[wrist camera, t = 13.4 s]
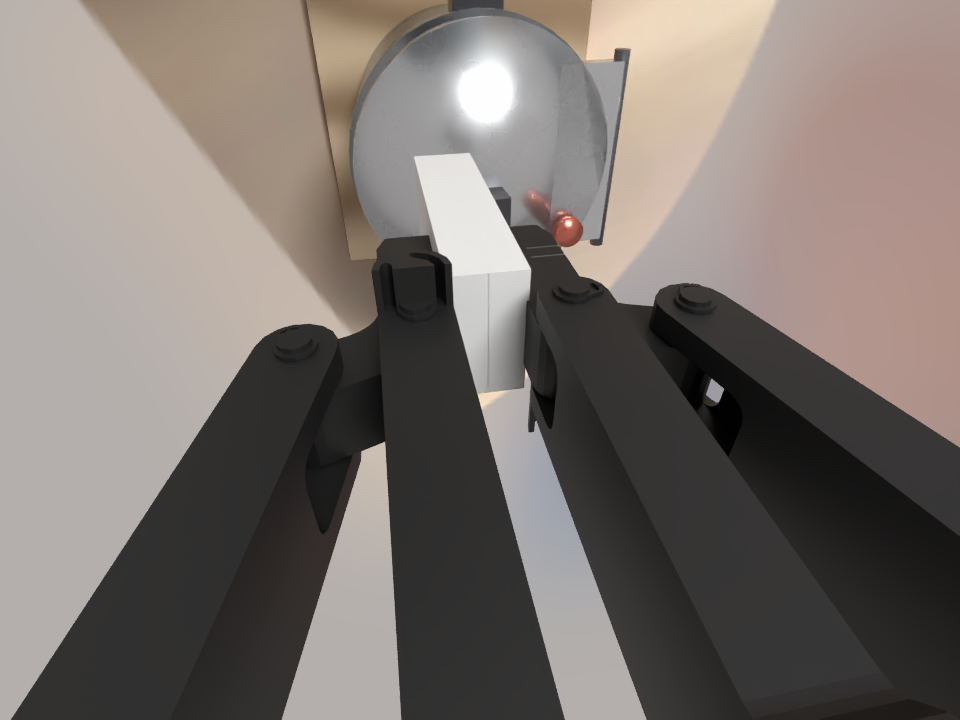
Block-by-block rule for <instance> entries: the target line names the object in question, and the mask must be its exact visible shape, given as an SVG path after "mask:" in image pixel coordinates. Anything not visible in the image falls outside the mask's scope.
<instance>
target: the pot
mask: <svg viewBox="0 0 960 720" xmlns="http://www.w3.org/2000/svg"><path fill="white" fill-rule="evenodd" d="M476 15H498V16H505V17H510V18H515V19H519V20H522V21H525V22H528V23H530V24H533V25H535V26H538V27H541V28H543V29H544V30H546V31H548V32H549V33H551V34H553V35H554V36H556V37H558V38H559V39H560V40H561V41H562V42H564V43H565V44H566V45H567V46H568V47H570V46H569V45H568V44H567V42H566V41H564V40H563V39H562V38H561V37H560V36H558V35H557V34H556V33H555V32H553V31H552V30H551V29H549V28H547V27H546V26H544V25H542V24H541V23H539V22H537V21H536V20H533V19H531V18H528V17H526V16H523V15H521V14H518V13H515V12H511V11H506V10H504V0H448V4H440V5H436V6H432V7H429V8H425V9H423V10H421V11H419V12H416V13H414V14H412V15H411V16H409V17H407V18H406V19H404V20H403V21H401V22H400V23H399V24H397V25H396V26H395V27H394V28H393V29H392V30H390V31H389V32H388V33H387V35H386V36H385V37H384V38H383V39H382V40H381V42H380V43H379V44H378V46H377V47H376V49H375V50H374V52H373V53H372V55H371V57H370V59H369V61H368V63H367V65H366V67H365V70H364V73H363V76H362V79H361V82H360V87H359V92H358V98H357V102H356V105H355V108H354V111H353V115H352V121H351V127H350V137H349V160H350V171H351V175H352V180H353V184H354V188H355V191H356V194H357V197H358V193H357V188H356V184H355V179H354V170H353V141H354V136H355V130H356V125H357V121H358V117H359V114H360V111H361V108H362V105H363V103H364V100H365V98H366V96H367V94H368V92H369V90H370V88H371V86H372V84H373V83H374V81H375V80H376V78H377V77H378V75H379V73H380V72H381V70H382V69H383V68H384V67H385V66H386V64H387V63H388V62H389V61H390V60H391V59H392V57H393V56H394V55H395V54H396V53H397V52H398V51H400V50H401V49H402V48H403V47H404V46H405V45H406V44H408V43H409V42H410V41H411V40H413V39H414V38H416V37H417V36H419V35H421V34H422V33H424V32H425V31H427V30H429V29H431V28H433V27H435V26H438V25H440V24H442V23H444V22H447V21H451V20H455V19H458V18H462V17H468V16H476ZM570 48H571V47H570ZM571 49H572V48H571ZM572 50H573V49H572ZM573 52H574V53H575V54H576V52H575V51H574V50H573ZM576 55H577V54H576ZM577 56H578V55H577ZM578 57H579V56H578ZM580 60H581V59H580ZM621 113H622V112H621ZM620 120H621V119H620ZM619 127H620V126H619ZM616 147H617V146H616ZM615 154H616V153H615ZM614 161H615V160H614ZM610 188H611V187H610ZM358 199H359V197H358ZM359 202H360V201H359Z"/></svg>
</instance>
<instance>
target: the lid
mask: <svg viewBox="0 0 960 720" xmlns="http://www.w3.org/2000/svg"><path fill="white" fill-rule="evenodd" d="M630 51H631V49H628V48H616V49H615V54H614V59H606V60H587V61H581V60H580V58H579V57H578V56H577V55H576V54H575V53H574V52H573V50H572V49H571V48H570V47H568V46H567V45H566V44H565V43H564V42H562V41H561V40H560V39H559V38H558V37H556V36H554V35H553V34H551V33H549V32H548V31H546V30H544V29H543V28H541V27H538V26H535V25H533V24H530V23H528V22H525V21H522V20H519V19H515V18H510V17H505V16H498V15H476V16H468V17H462V18H458V19H455V20H451V21H447V22H444V23H442V24H440V25H438V26H435V27H433V28H431V29H429V30H427V31H425V32H424V33H422V34H421V35H419V36H417V37H416V38H414V39H413V40H411V41H410V42H409V43H408V44H406V45H405V46H404V47H403V48H402V49H401V50H400V51H398V52H397V53H396V54H395V55H394V56H393V57H392V59H391V60H390V61H389V62H388V63H387V64H386V66H385V67H384V68H383V69H382V70H381V72H380V73H379V75H378V77H377V78H376V80H375V81H374V83H373V84H372V86H371V88H370V90H369V92H368V94H367V96H366V98H365V100H364V103H363V105H362V108H361V111H360V114H359V117H358V121H357V125H356V130H355V136H354V141H353V170H354V179H355V184H356V188H357V193H358V197H359V201H360V204H361V207H362V209H363V212H364V215H365V217H366V219H367V221H368V223H369V225H370V227H371V228H372V230H373V232H374V233H375V235H376V236H377V237H378V239H379V240H380V242H381V243H382V242H383V241H384V239H386V238H398V237H411V236H420V227H419V214H418V202H417V190H416V177H415V165H414V156H429V155H445V154H461V153H470V155H471V156H472V158H473V160H474V162H475V164H476V166H477V168H478V170H479V172H480V173H481V175H482V177H483V179H484V181H485V183H486V185H487V187H488V189H489V190H490V192H491V194H492V196H493V198H494V200H495V202H496V204H497V206H498V207H499V209H500V211H501V213H502V215H503V217H504V219H505V221H506V223H507V224H508V226H509V227H512V226H524V225H538V226H539V227H541V228H543V229H544V230H546V231H548V232H550V233H551V234H552V236H553V237H554V239H555V240H556V242H557V243H558V246H559V247H560V248H561V247H562V246H563V247H570V246H573V245H575V244H576V243H577V242H578V241H583V240H590V244H592V245H595V246H599V245H602V242H603V235H604V228H605V222H606V215H607V208H608V201H609V194H610V187H611V181H612V174H613V167H614V160H615V153H616V146H617V140H618V133H619V126H620V119H621V112H622V106H623V99H624V92H625V85H626V78H627V71H628V65H629V58H630Z"/></svg>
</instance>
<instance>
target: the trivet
mask: <svg viewBox="0 0 960 720" xmlns="http://www.w3.org/2000/svg"><path fill="white" fill-rule="evenodd" d="M306 3H307V9H308V15H309V20H310V26H311V32H312V38H313V44H314V49H315V55H316V61H317V67H318V73H319V78H320V84H321V90H322V96H323V102H324V108H325V113H326V119H327V125H328V131H329V137H330V142H331V148H332V154H333V160H334V166H335V171H336V177H337V183H338V189H339V195H340V201H341V206H342V212H343V218H344V224H345V230H346V235H347V241H348V247H349V253H350V259H351V261H353V260H364V259H376V258H377V252H376V249H377V248H378V247H379V246H380V244H381V242H380V240H379V239H378V237H377V236H376V235H375V233H374V232H373V230H372V228H371V227H370V225H369V223H368V221H367V219H366V217H365V215H364V212H363V209H362V207H361V204H360V202H359V199H358V197H357V194H356V191H355V188H354V184H353V180H352V175H351V171H350V160H349V137H350V127H351V121H352V115H353V111H354V108H355V105H356V102H357V98H358V92H359V87H360V82H361V79H362V76H363V73H364V70H365V67H366V65H367V63H368V61H369V59H370V57H371V55H372V53H373V52H374V50H375V49H376V47H377V46H378V44H379V43H380V42H381V40H382V39H383V38H384V37H385V36H386V35H387V33H388V32H389V31H390V30H392V29H393V28H394V27H395V26H396V25H397V24H399V23H400V22H401V21H403V20H404V19H406V18H407V17H409V16H411V15H412V14H414V13H416V12H419V11H421V10H423V9H425V8H429V7H432V6H436V5H440V4H448V0H306ZM591 5H592V0H504V10H506V11H511V12H515V13H518V14H521V15H523V16H526V17H528V18H531V19H533V20H536V21H537V22H539V23H541V24H542V25H544V26H546V27H547V28H549V29H551V30H552V31H553V32H555V33H556V34H557V35H558V36H560V37H561V38H562V39H563V40H564V41H566V42H567V44H568V45H569V46H570V47H571V48H572V49H573V50H574V51H575V52H576V54H577V55H578V56H579V58H580V59H581V61H586V54H587V44H588V34H589V25H590V15H591Z"/></svg>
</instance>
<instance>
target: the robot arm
mask: <svg viewBox="0 0 960 720" xmlns="http://www.w3.org/2000/svg"><path fill="white" fill-rule="evenodd" d="M414 165H415V177H416V190H417V202H418V214H419V227H420V236H411V237H398V238H386V239H384V241H383V242H382V243H381V244H380V246H379V247H378V248H377V249H376V252H377V262H376V263H374V266H373V268H372V278H373V285H374V291H375V298H376V305H377V312H378V316H377V318H376V320H375V321H374V322H373V323H372V324H371V325H369V326H368V327H367V328H365V329H363V330H362V331H360V332H357V333H355V334H352V335H350V336H347V337H343V338H340V339H338V338H337V337H336V335H335V334H334V332H333V331H331V330H329V329H327V328H326V327H324V326H319V325H312V324H302V325H292V326H288V327H284V328H281V329H278V330H276V331H274V332H273V333H271V334H269V335H267V336H265V337H264V338H263V339H262V340H261V341H260V342H259V343H258V344H257V345H256V346H255V347H254V349H253V350H252V352H251V354H250V355H249V356H248V358H247V360H246V361H245V363H244V364H243V366H242V367H241V369H240V370H239V372H238V373H237V375H236V377H235V378H234V379H233V381H232V382H231V384H230V386H229V387H228V389H227V390H226V392H225V393H224V395H223V396H222V398H221V400H220V401H219V403H218V404H217V406H216V407H215V409H214V410H213V412H212V413H211V415H210V416H209V418H208V419H207V421H206V422H205V424H204V425H203V427H202V428H201V430H200V431H199V433H198V435H197V436H196V438H195V439H194V441H193V442H192V444H191V445H190V447H189V448H188V450H187V451H186V453H185V454H184V456H183V458H182V459H181V461H180V462H179V464H178V465H177V467H176V468H175V470H174V471H173V473H172V474H171V476H170V478H169V479H168V480H167V482H166V483H165V485H164V487H163V488H162V490H161V491H160V493H159V494H158V496H157V497H156V499H155V501H154V502H153V503H152V505H151V506H150V508H149V509H148V511H147V513H146V514H145V516H144V517H143V519H142V520H141V522H140V523H139V525H138V526H137V528H136V529H135V531H134V532H133V534H132V535H131V537H130V539H129V540H128V542H127V543H126V545H125V546H124V548H123V549H122V551H121V552H120V554H119V555H118V557H117V558H116V560H115V562H114V563H113V565H112V566H111V568H110V569H109V571H108V572H107V574H106V575H105V577H104V578H103V580H102V581H101V583H100V585H99V586H98V587H97V589H96V591H95V592H94V594H93V595H92V597H91V598H90V600H89V601H88V603H87V604H86V606H85V607H84V609H83V610H82V612H81V614H80V615H79V617H78V618H77V620H76V621H75V623H74V624H73V626H72V627H71V629H70V630H69V632H68V633H67V635H66V637H65V638H64V640H63V641H62V643H61V644H60V646H59V647H58V649H57V650H56V652H55V653H54V655H53V656H52V658H51V659H50V661H49V662H48V664H47V665H46V667H45V669H44V670H43V672H42V673H41V675H40V676H39V678H38V680H37V681H36V682H35V684H34V685H33V687H32V688H31V690H30V691H29V693H28V695H27V696H26V698H25V699H24V701H23V702H22V704H21V705H20V707H19V708H18V710H17V711H16V713H15V714H14V716H13V717H12V719H11V720H282V716H283V713H284V710H285V706H286V703H287V700H288V697H289V693H290V690H291V687H292V684H293V680H294V677H295V674H296V670H297V667H298V664H299V661H300V657H301V654H302V651H303V647H304V644H305V641H306V638H307V635H308V631H309V628H310V625H311V622H312V618H313V615H314V612H315V609H316V605H317V602H318V599H319V595H320V592H321V589H322V586H323V582H324V579H325V576H326V573H327V569H328V566H329V563H330V560H331V556H332V553H333V550H334V547H335V543H336V540H337V536H338V533H339V530H340V527H341V524H342V520H343V517H344V513H345V511H346V507H347V504H348V501H349V497H350V494H351V491H352V488H353V485H354V481H355V478H356V475H357V471H358V468H359V465H360V462H361V451H363V450H365V449H368V448H370V447H373V446H375V445H378V444H380V443H383V442H385V444H386V462H387V480H388V496H389V514H390V531H391V547H392V565H393V581H394V599H395V616H396V634H397V650H398V667H399V685H400V702H401V719H402V720H565V719H564V715H563V712H562V708H561V704H560V700H559V697H558V693H557V689H556V685H555V682H554V678H553V674H552V671H551V667H550V663H549V659H548V656H547V652H546V648H545V644H544V641H543V637H542V634H541V629H540V626H539V622H538V618H537V615H536V611H535V607H534V603H533V600H532V596H531V592H530V588H529V585H528V581H527V577H526V574H525V570H524V566H523V563H522V559H521V555H520V551H519V548H518V544H517V540H516V536H515V533H514V529H513V525H512V521H511V518H510V514H509V510H508V506H507V503H506V499H505V495H504V492H503V488H502V484H501V480H500V477H499V473H498V470H497V465H496V462H495V458H494V454H493V451H492V447H491V443H490V439H489V436H488V432H487V428H486V425H485V421H484V417H483V413H482V410H481V406H480V402H479V398H478V395H477V394H479V393H487V392H495V391H503V390H511V389H519V388H524V379H525V368H526V370H527V373H528V375H529V378H530V380H531V390H530V404H529V419H528V429H529V432H534V426H535V421H537V423H538V426H539V429H540V432H541V434H542V437H543V440H544V442H545V445H546V448H547V451H548V453H549V456H550V459H551V461H552V464H553V467H554V470H555V472H556V475H557V478H558V480H559V483H560V486H561V488H562V491H563V494H564V497H565V499H566V502H567V505H568V507H569V510H570V512H571V516H572V518H573V521H574V524H575V527H576V529H577V532H578V535H579V537H580V540H581V543H582V545H583V547H584V551H585V554H586V556H587V559H588V562H589V564H590V567H591V570H592V572H593V575H594V578H595V580H596V583H597V586H598V589H599V592H600V594H601V597H602V600H603V602H604V605H605V608H606V610H607V613H608V616H609V618H610V621H611V624H612V627H613V630H614V632H615V635H616V638H617V640H618V643H619V646H620V649H621V651H622V654H623V657H624V659H625V662H626V665H627V667H628V670H629V673H630V676H631V678H632V681H633V684H634V686H635V689H636V692H637V695H638V697H639V700H640V703H641V705H642V708H643V711H644V714H645V716H646V719H647V720H960V448H959V447H958V446H956V445H955V444H953V443H952V442H950V441H949V440H947V439H946V438H944V437H942V436H941V435H939V434H938V433H936V432H935V431H933V430H932V429H930V428H929V427H927V426H926V425H924V424H922V423H921V422H919V421H918V420H916V419H915V418H913V417H912V416H910V415H909V414H907V413H905V412H904V411H902V410H901V409H899V408H898V407H896V406H895V405H893V404H892V403H890V402H888V401H887V400H885V399H884V398H882V397H881V396H879V395H877V394H876V393H875V392H873V391H872V390H870V389H868V388H867V387H865V386H864V385H862V384H860V383H859V382H858V381H856V380H854V379H853V378H851V377H850V376H848V375H846V374H845V373H844V372H842V371H841V370H839V369H838V368H836V367H834V366H833V365H831V364H830V363H828V362H826V361H825V360H824V359H822V358H821V357H819V356H818V355H816V354H814V353H813V352H811V351H810V350H808V349H807V348H805V347H803V346H802V345H801V344H799V343H797V342H796V341H794V340H793V339H791V338H789V337H788V336H787V335H785V334H784V333H782V332H780V331H779V330H777V329H776V328H774V327H773V326H771V325H770V324H768V323H767V322H765V321H763V320H762V319H760V318H759V317H757V316H756V315H754V314H753V313H751V312H750V311H748V310H747V309H745V308H743V307H742V306H740V305H739V304H737V303H736V302H734V301H733V300H731V299H730V298H728V297H726V296H725V295H723V294H721V293H719V292H717V291H715V290H713V289H711V288H707V287H703V286H701V285H699V284H689V283H683V284H676V285H669V286H667V287H665V288H662V289H660V290H659V292H658V293H657V295H656V297H655V301H654V306H641V305H629V304H622V303H617V301H616V300H615V298H614V297H613V296H612V294H611V293H610V291H609V290H608V289H607V288H606V287H605V286H603V285H602V284H601V283H599V282H597V281H595V280H592V279H590V278H585V277H580V276H579V275H578V274H577V272H576V271H575V269H574V268H573V266H572V265H571V263H570V262H569V260H568V259H567V257H566V256H565V255H564V254H563V251H562V250H561V248H560V247H559V246H558V243H557V242H556V240H555V239H554V237H553V236H552V234H551V233H550V232H548V231H546V230H544V229H543V228H541V227H539V226H538V225H524V226H512V227H509V226H508V224H507V223H506V221H505V219H504V217H503V215H502V213H501V211H500V209H499V207H498V206H497V204H496V202H495V200H494V198H493V196H492V194H491V192H490V190H489V189H488V187H487V185H486V183H485V181H484V179H483V177H482V175H481V173H480V172H479V170H478V168H477V166H476V164H475V162H474V160H473V158H472V156H471V155H470V153H461V154H445V155H429V156H414ZM711 378H712V379H713V380H714V381H716V382H717V383H718V384H719V385H720V386H722V387H723V388H724V391H723V394H722V397H721V399H720V401H719V403H716V402H715V401H713V400H711V399H710V398H709V397H708V396H707V395H706V392H707V389H708V386H709V384H710V381H711Z"/></svg>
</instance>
